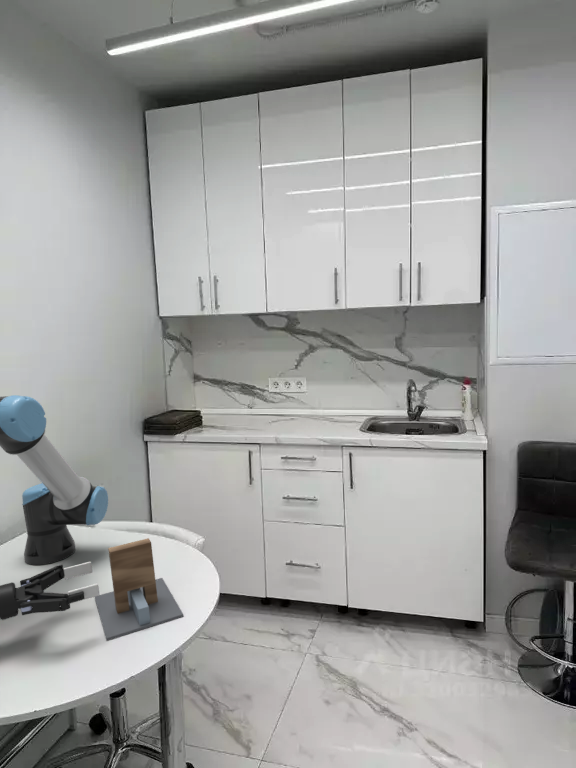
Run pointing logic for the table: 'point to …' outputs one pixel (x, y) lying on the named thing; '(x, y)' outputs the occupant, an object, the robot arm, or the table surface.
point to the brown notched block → (132, 572)
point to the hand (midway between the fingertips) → (95, 577)
